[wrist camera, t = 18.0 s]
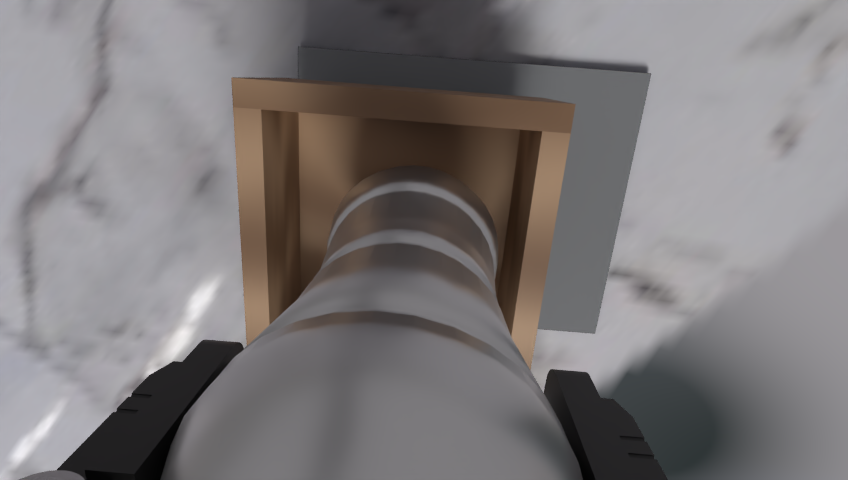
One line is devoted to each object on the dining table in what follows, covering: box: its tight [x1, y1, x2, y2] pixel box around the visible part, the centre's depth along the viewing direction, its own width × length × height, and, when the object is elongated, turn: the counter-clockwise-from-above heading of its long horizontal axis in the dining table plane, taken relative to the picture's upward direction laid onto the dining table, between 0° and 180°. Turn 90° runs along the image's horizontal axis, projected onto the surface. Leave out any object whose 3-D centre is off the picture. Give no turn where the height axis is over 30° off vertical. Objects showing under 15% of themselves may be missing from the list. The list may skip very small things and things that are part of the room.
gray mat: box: [298, 47, 651, 334], centre depth 27 cm, size 15×18×1 cm
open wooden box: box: [232, 78, 576, 369], centre depth 22 cm, size 12×12×8 cm
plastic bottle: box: [160, 165, 583, 480], centre depth 12 cm, size 6×7×20 cm
